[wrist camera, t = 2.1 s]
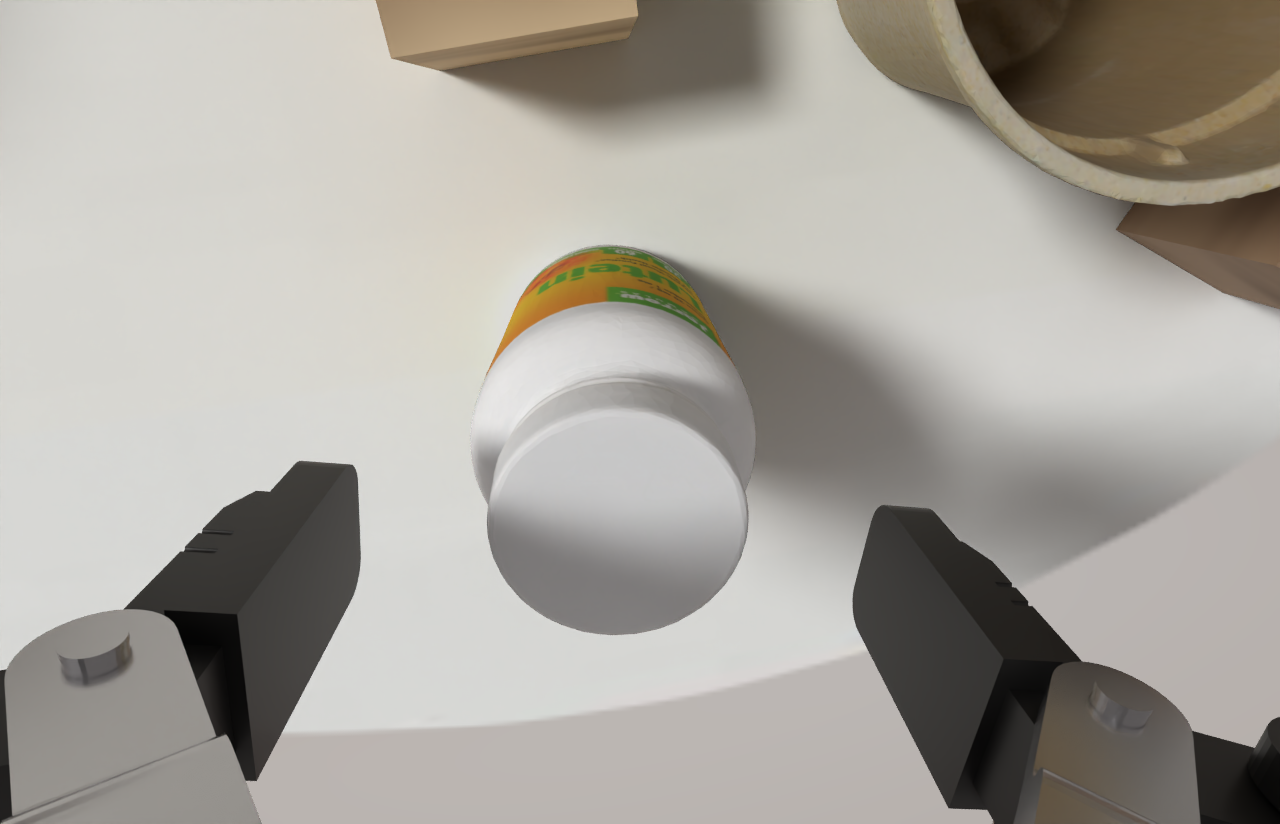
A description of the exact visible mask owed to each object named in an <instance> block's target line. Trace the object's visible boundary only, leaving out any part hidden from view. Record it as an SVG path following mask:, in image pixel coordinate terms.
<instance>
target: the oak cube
mask: <svg viewBox="0 0 1280 824" xmlns="http://www.w3.org/2000/svg"><path fill="white" fill-rule="evenodd" d="M376 3H377V7H378V10H379V14H380V18H381V22H382V26H383V29H384V33H385V37H386V41H387V45H388V48H389V52H390V56H391V58H392V59H396V60H400V61H404V62H408V63H412V64H415V65H419V66H423V67H427V68H431V69H435V70H439V71H442V70H448V69H454V68H460V67H466V66H471V65H477V64H483V63H489V62H495V61H501V60H506V59H512V58H518V57H524V56H530V55H536V54H541V53H547V52H553V51H559V50H565V49H570V48H576V47H582V46H588V45H594V44H600V43H605V42H611V41H617V40H623V39H628V38H629V36H630V33H631V31H632V29H633V27H634V25H635V22H636V20H637V18H638V9H637V2H636V0H376Z"/></svg>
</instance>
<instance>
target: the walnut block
mask: <svg viewBox="0 0 1280 824" xmlns="http://www.w3.org/2000/svg"><path fill="white" fill-rule="evenodd" d="M1116 230H1117V231H1119V232H1121V233H1122V234H1124V235H1126V236H1127V237H1129V238H1131V239H1133V240H1134V241H1136V242H1138V243H1139V244H1141V245H1143V246H1144V247H1146V248H1148V249H1150V250H1151V251H1153V252H1155V253H1156V254H1158V255H1160V256H1161V257H1163V258H1165V259H1167V260H1168V261H1170V262H1172V263H1173V264H1175V265H1177V266H1178V267H1180V268H1182V269H1184V270H1185V271H1187V272H1189V273H1190V274H1192V275H1194V276H1195V277H1197V278H1199V279H1201V280H1202V281H1204V282H1206V283H1207V284H1209V285H1211V286H1212V287H1214V288H1216V289H1218V290H1219V291H1221V292H1223V293H1226V294H1229V295H1233V296H1236V297H1240V298H1243V299H1247V300H1250V301H1254V302H1257V303H1261V304H1264V305H1268V306H1271V307H1274V308H1278V309H1280V187H1277V188H1274V189H1271V190H1268V191H1265V192H1259V193H1254V194H1251V195H1248V196H1245V197H1242V198H1231V199H1227V200H1224V201H1222V202H1214V203H1211V204H1187V205H1176V206H1168V205H1156V204H1147V203H1138V202H1135V203H1134V205H1133V206H1132V208H1131V209H1130V210H1129V212H1128V213H1127V215H1126V216H1125V217H1124V219H1123V220H1122V222H1121V223H1120V224H1119V226H1118V227H1117V229H1116Z"/></svg>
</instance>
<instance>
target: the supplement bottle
mask: <svg viewBox="0 0 1280 824" xmlns="http://www.w3.org/2000/svg"><path fill="white" fill-rule="evenodd" d="M470 446H471V458H472V464H473V469H474V473H475V477H476V480H477V482H478V485H479V488H480V490H481V492H482V494H483V496H484V498H485V500H486V502H487V504H488V514H487V531H488V539H489V543H490V548H491V551H492V555H493V558H494V560H495V562H496V564H497V566H498V568H499V570H500V572H501V574H502V576H503V577H504V579H505V581H506V582H507V584H508V585H509V586H510V587H511V588H512V589H513V591H514V592H515V593H516V594H517V595H518V596H519V597H520V598H521V599H522V600H523V601H524V602H525V603H526V604H528V605H529V606H530V607H531V608H533V609H534V610H535V611H537V612H538V613H540V614H542V615H543V616H545V617H546V618H548V619H550V620H552V621H555V622H557V623H559V624H561V625H564V626H567V627H570V628H573V629H576V630H580V631H584V632H589V633H595V634H606V635H622V634H637V633H642V632H647V631H651V630H656V629H659V628H662V627H665V626H667V625H670V624H673V623H675V622H677V621H679V620H681V619H683V618H685V617H687V616H688V615H690V614H692V613H693V612H695V611H696V610H698V609H700V608H701V607H702V606H704V605H705V604H706V603H707V602H708V601H710V600H711V599H712V598H713V597H714V596H715V595H716V594H717V593H718V592H719V590H720V589H721V588H722V587H723V586H724V585H725V584H726V582H727V581H728V579H729V578H730V576H731V575H732V573H733V572H734V570H735V568H736V566H737V564H738V562H739V560H740V558H741V555H742V552H743V549H744V545H745V542H746V538H747V532H748V505H747V497H746V493H745V490H746V487H747V485H748V482H749V479H750V476H751V473H752V469H753V464H754V459H755V450H756V429H755V421H754V416H753V411H752V407H751V404H750V400H749V397H748V394H747V392H746V389H745V387H744V384H743V382H742V379H741V377H740V375H739V373H738V371H737V369H736V367H735V365H734V363H733V362H732V360H731V358H730V356H729V354H728V352H727V351H726V349H725V347H724V345H723V343H722V342H721V340H720V338H719V336H718V334H717V332H716V330H715V328H714V326H713V324H712V322H711V320H710V319H709V317H708V315H707V313H706V311H705V309H704V307H703V305H702V303H701V301H700V300H699V298H698V296H697V295H696V293H695V291H694V290H693V289H692V287H691V286H690V285H689V283H688V282H687V281H686V280H685V279H684V277H683V276H682V275H681V274H680V273H679V272H678V271H676V270H675V269H674V268H673V267H672V266H670V265H669V264H668V263H666V262H665V261H663V260H661V259H660V258H658V257H656V256H654V255H652V254H650V253H647V252H644V251H642V250H638V249H635V248H631V247H626V246H618V245H598V246H592V247H586V248H583V249H579V250H576V251H573V252H570V253H568V254H566V255H564V256H562V257H560V258H558V259H556V260H555V261H553V262H552V263H550V264H549V265H548V266H546V267H545V268H544V269H543V270H542V271H541V272H540V273H538V274H537V275H536V276H535V278H534V279H533V280H532V281H531V282H530V284H529V285H528V286H527V288H526V289H525V291H524V293H523V294H522V296H521V298H520V299H519V301H518V303H517V306H516V308H515V310H514V312H513V315H512V317H511V319H510V322H509V324H508V327H507V329H506V332H505V334H504V336H503V339H502V341H501V343H500V345H499V348H498V350H497V352H496V354H495V356H494V359H493V361H492V363H491V365H490V368H489V370H488V372H487V374H486V377H485V379H484V382H483V384H482V387H481V390H480V392H479V395H478V398H477V401H476V405H475V408H474V412H473V416H472V423H471V433H470Z"/></svg>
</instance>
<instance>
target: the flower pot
mask: <svg viewBox="0 0 1280 824" xmlns="http://www.w3.org/2000/svg"><path fill="white" fill-rule="evenodd" d="M837 4H838V8H839V11H840V15H841V17H842V20H843V22H844V25H845V27H846V29H847V30H848V32H849V33H850V35H851V36H852V38H853V39H854V41H855V42H856V44H857V45H858V47H859V48H860V49H861V51H862V52H863V53H864V55H865V56H866V57H867V58H868V59H869V61H870V62H871V63H872V64H873V65H874V66H875V67H876V68H877V69H878V70H879V71H881V72H882V73H883V74H885V75H886V76H887V77H889V78H890V79H892V80H893V81H895V82H897V83H899V84H901V85H903V86H906V87H908V88H911V89H915V90H919V91H923V92H927V93H929V94H932V95H936V96H939V97H942V98H946V99H949V100H952V101H954V102H957V103H960V104H963V105H966V106H969V107H972V109H973V110H974V111H975V113H976V114H977V115H978V116H979V118H980V119H981V120H982V121H983V122H984V123H985V125H986V126H987V127H988V128H989V129H990V130H991V131H992V132H993V133H994V134H995V135H996V136H997V137H998V138H999V139H1001V140H1002V141H1003V142H1004V143H1005V144H1006V145H1007V146H1008V147H1009V148H1011V149H1012V150H1013V151H1015V152H1016V153H1017V154H1019V155H1020V156H1022V157H1023V158H1024V159H1026V160H1027V161H1029V162H1030V163H1032V164H1033V165H1035V166H1036V167H1038V168H1039V169H1041V170H1042V171H1044V172H1046V173H1048V174H1050V175H1053V176H1055V177H1057V178H1059V179H1061V180H1063V181H1065V182H1067V183H1069V184H1072V185H1074V186H1077V187H1080V188H1083V189H1085V190H1088V191H1091V192H1094V193H1097V194H1100V195H1103V196H1108V197H1112V198H1115V199H1119V200H1124V201H1131V202H1138V203H1147V204H1156V205H1168V206H1176V205H1187V204H1211V203H1214V202H1222V201H1224V200H1227V199H1231V198H1242V197H1245V196H1248V195H1251V194H1254V193H1259V192H1265V191H1268V190H1271V189H1274V188H1277V187H1280V0H837Z"/></svg>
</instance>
